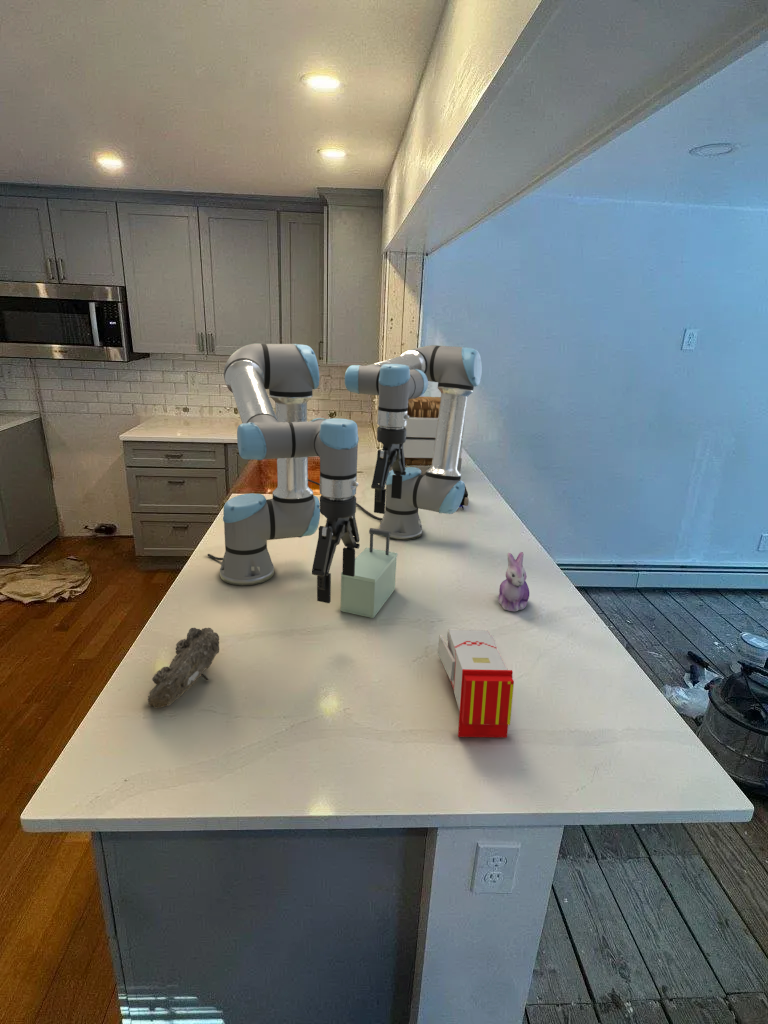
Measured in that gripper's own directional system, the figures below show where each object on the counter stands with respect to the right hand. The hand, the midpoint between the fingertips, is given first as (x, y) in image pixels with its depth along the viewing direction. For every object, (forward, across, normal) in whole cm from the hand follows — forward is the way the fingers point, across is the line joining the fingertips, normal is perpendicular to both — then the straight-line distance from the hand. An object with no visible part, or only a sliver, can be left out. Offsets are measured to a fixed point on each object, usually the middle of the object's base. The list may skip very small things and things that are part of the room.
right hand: (388, 505), depth 152 cm
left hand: (+8, -34, -1) cm, 35 cm away
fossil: (+25, -55, +23) cm, 65 cm away
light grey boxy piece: (+25, +120, +25) cm, 125 cm away
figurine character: (+25, +81, -3) cm, 84 cm away
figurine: (+25, +6, -36) cm, 44 cm away
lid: (+15, -8, +2) cm, 17 cm away
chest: (+25, -8, +2) cm, 26 cm away
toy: (+25, -36, -32) cm, 54 cm away
